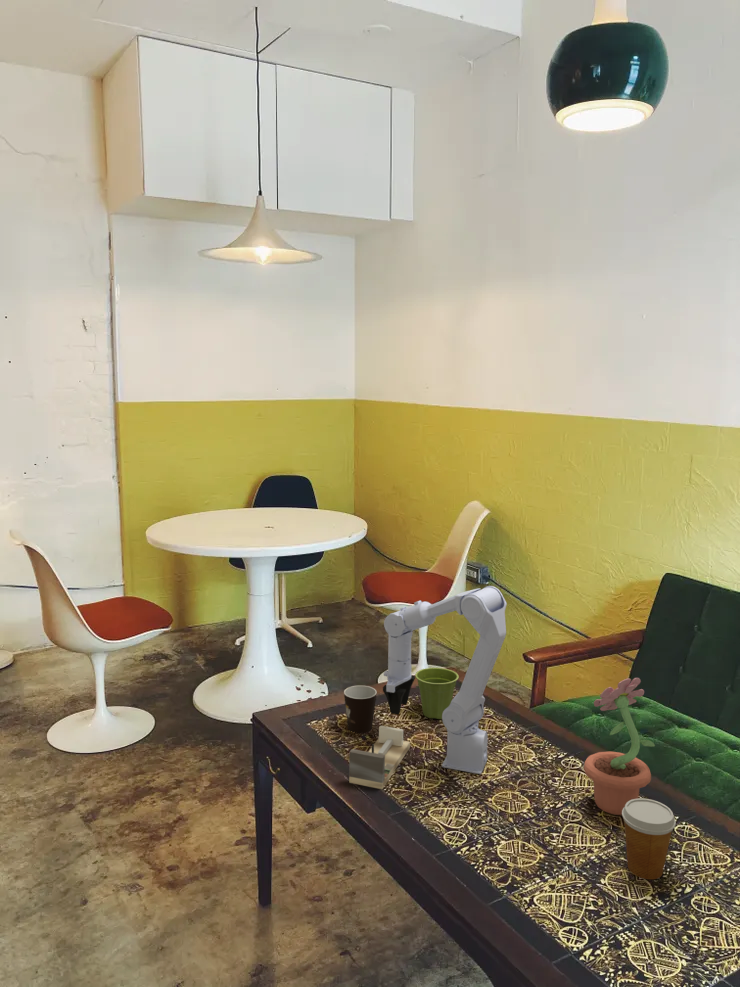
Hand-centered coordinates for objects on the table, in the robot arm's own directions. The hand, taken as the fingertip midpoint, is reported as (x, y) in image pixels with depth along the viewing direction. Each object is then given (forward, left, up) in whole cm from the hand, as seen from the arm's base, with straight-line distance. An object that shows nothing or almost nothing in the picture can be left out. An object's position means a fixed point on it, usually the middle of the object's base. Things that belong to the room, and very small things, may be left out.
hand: (398, 708), depth 196 cm
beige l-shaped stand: (0, +14, -8) cm, 16 cm away
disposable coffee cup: (-60, +33, -9) cm, 69 cm away
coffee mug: (+12, -4, -9) cm, 15 cm away
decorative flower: (-54, +12, -9) cm, 56 cm away
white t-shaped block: (0, +10, -7) cm, 12 cm away
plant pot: (-5, -18, -9) cm, 21 cm away
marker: (-1, +19, -7) cm, 20 cm away
